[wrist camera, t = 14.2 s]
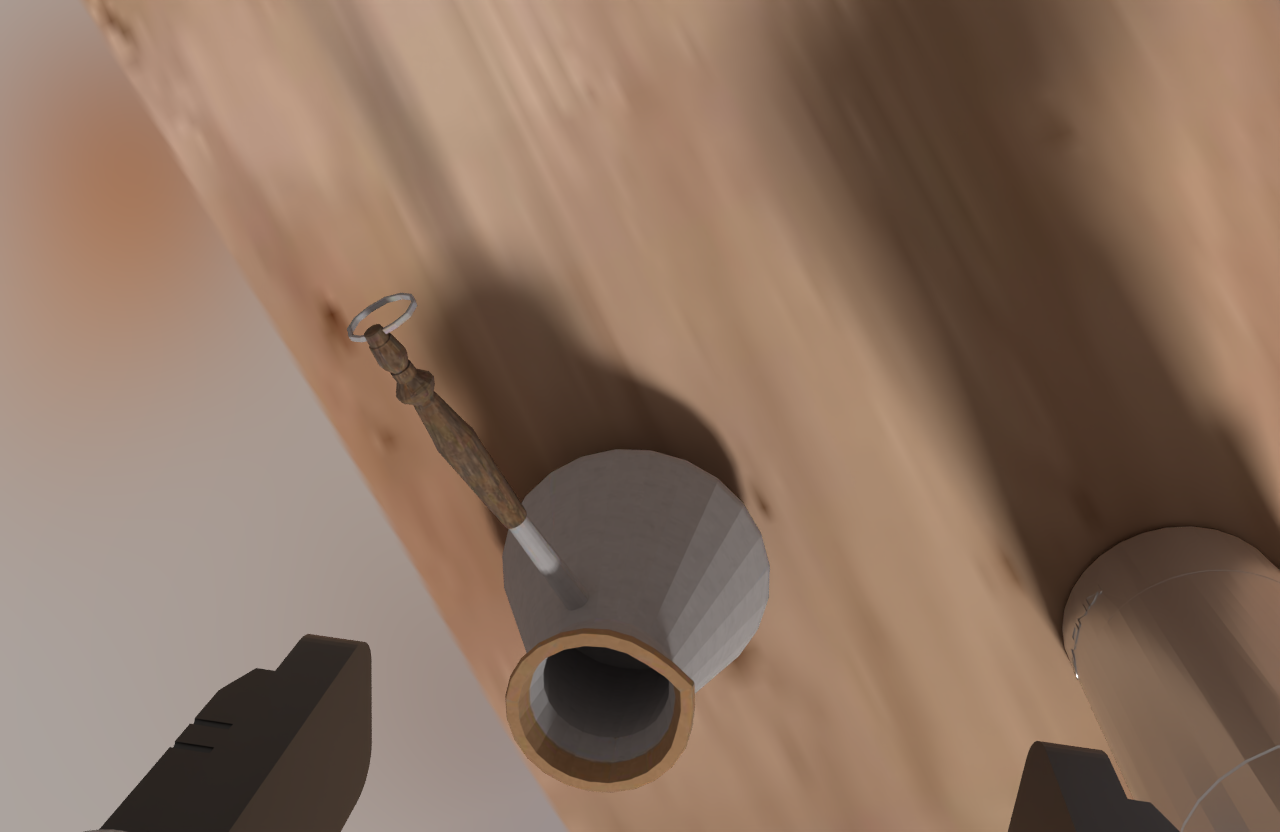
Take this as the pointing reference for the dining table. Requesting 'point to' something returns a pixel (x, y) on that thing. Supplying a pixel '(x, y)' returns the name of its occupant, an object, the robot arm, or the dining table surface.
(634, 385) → the dining table surface
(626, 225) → the dining table surface
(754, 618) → the coffee pot
